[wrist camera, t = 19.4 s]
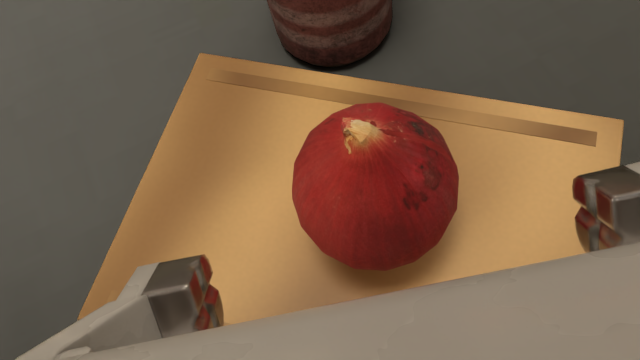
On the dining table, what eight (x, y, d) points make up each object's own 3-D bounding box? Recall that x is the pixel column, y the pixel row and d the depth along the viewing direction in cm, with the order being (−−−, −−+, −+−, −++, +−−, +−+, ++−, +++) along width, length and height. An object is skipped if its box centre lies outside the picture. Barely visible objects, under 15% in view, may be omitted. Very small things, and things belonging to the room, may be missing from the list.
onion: (419, 145, 25) (423, 19, 18) (475, 264, 22) (506, 173, 15) (293, 189, 25) (246, 81, 18) (334, 314, 22) (299, 246, 15)
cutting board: (93, 327, 25) (75, 319, 23) (209, 70, 30) (199, 51, 29) (579, 477, 20) (591, 478, 18) (613, 137, 25) (624, 118, 24)
